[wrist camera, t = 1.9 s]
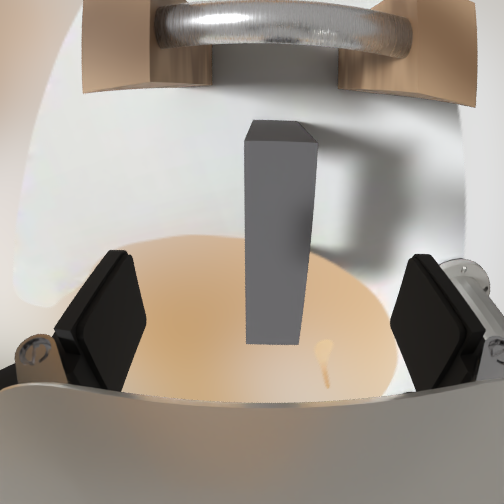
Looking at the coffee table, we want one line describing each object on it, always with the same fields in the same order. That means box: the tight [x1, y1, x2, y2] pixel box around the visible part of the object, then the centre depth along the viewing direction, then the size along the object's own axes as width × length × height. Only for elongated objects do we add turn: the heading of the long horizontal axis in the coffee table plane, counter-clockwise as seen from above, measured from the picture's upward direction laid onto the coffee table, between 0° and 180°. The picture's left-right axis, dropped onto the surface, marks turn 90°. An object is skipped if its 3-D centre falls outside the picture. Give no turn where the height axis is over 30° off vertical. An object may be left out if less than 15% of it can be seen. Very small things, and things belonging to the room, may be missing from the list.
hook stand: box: [82, 0, 477, 108], centre depth 15 cm, size 5×16×14 cm, turn 90°
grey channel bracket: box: [244, 120, 318, 345], centre depth 22 cm, size 13×4×11 cm, turn 0°
